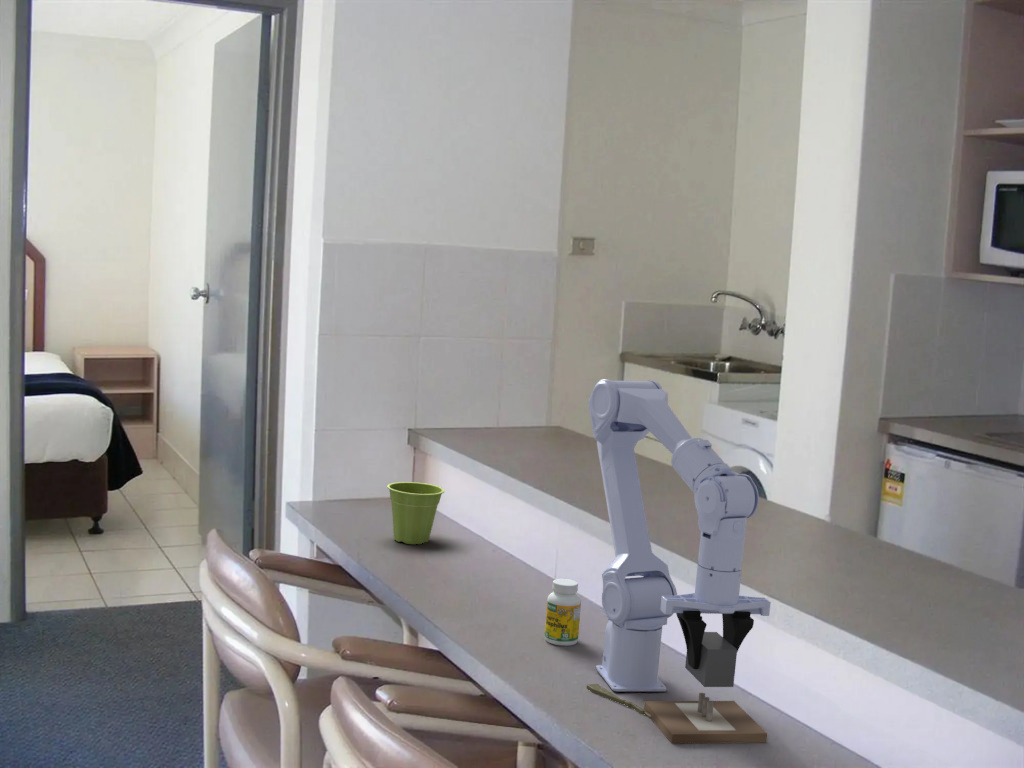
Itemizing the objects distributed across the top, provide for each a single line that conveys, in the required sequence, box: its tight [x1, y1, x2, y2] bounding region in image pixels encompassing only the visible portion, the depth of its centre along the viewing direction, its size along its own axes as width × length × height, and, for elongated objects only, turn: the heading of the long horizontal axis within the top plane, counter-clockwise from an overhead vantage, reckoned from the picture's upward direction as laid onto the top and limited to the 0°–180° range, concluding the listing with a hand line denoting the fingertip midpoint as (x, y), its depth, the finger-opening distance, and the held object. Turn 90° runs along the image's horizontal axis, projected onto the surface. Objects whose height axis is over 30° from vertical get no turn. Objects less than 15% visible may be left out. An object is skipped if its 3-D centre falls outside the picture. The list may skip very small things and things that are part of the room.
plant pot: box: [386, 481, 445, 545], centre depth 240 cm, size 12×12×11 cm
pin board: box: [643, 692, 768, 744], centre depth 154 cm, size 11×13×4 cm
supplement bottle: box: [544, 578, 582, 647], centre depth 183 cm, size 5×5×10 cm
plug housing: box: [684, 631, 738, 688], centre depth 154 cm, size 9×4×5 cm, turn 12°
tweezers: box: [586, 683, 651, 719], centre depth 160 cm, size 12×2×1 cm, turn 37°
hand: (709, 666), depth 153 cm, fingers closed on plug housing, 4 cm apart
